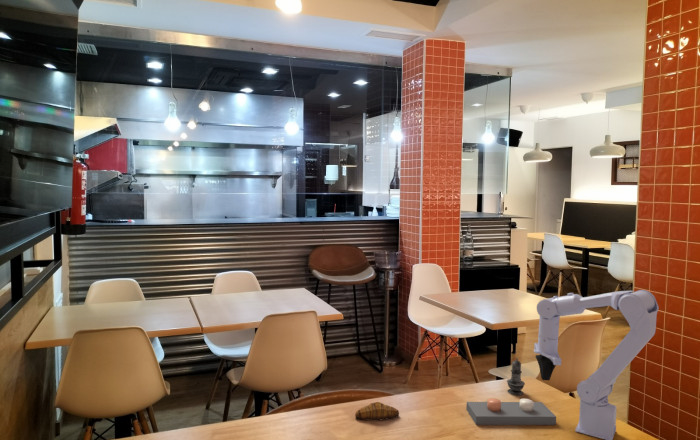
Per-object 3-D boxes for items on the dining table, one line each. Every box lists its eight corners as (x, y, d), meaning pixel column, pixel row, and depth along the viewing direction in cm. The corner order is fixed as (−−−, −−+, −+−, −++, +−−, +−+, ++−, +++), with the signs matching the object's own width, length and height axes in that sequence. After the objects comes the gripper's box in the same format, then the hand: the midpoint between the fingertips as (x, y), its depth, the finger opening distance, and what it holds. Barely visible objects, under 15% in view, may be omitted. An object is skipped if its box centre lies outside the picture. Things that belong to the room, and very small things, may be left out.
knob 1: (497, 413, 151) (498, 398, 150) (502, 419, 147) (503, 404, 146) (485, 413, 150) (485, 398, 150) (489, 419, 146) (489, 404, 146)
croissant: (357, 424, 142) (357, 408, 142) (353, 414, 149) (353, 398, 148) (402, 422, 144) (402, 405, 144) (396, 411, 151) (396, 396, 151)
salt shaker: (521, 389, 170) (523, 355, 169) (526, 396, 164) (527, 361, 163) (504, 388, 171) (506, 354, 170) (508, 395, 165) (510, 360, 164)
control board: (541, 409, 154) (541, 402, 154) (555, 424, 144) (556, 416, 144) (466, 409, 153) (466, 401, 153) (475, 424, 143) (476, 416, 143)
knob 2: (529, 413, 151) (530, 398, 151) (535, 419, 147) (535, 404, 147) (516, 413, 151) (517, 398, 150) (522, 419, 147) (522, 404, 146)
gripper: (526, 329, 158) (523, 370, 159) (545, 344, 144) (543, 388, 145) (547, 330, 158) (544, 370, 159) (569, 344, 144) (566, 389, 145)
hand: (545, 379), depth 152 cm, fingers closed
